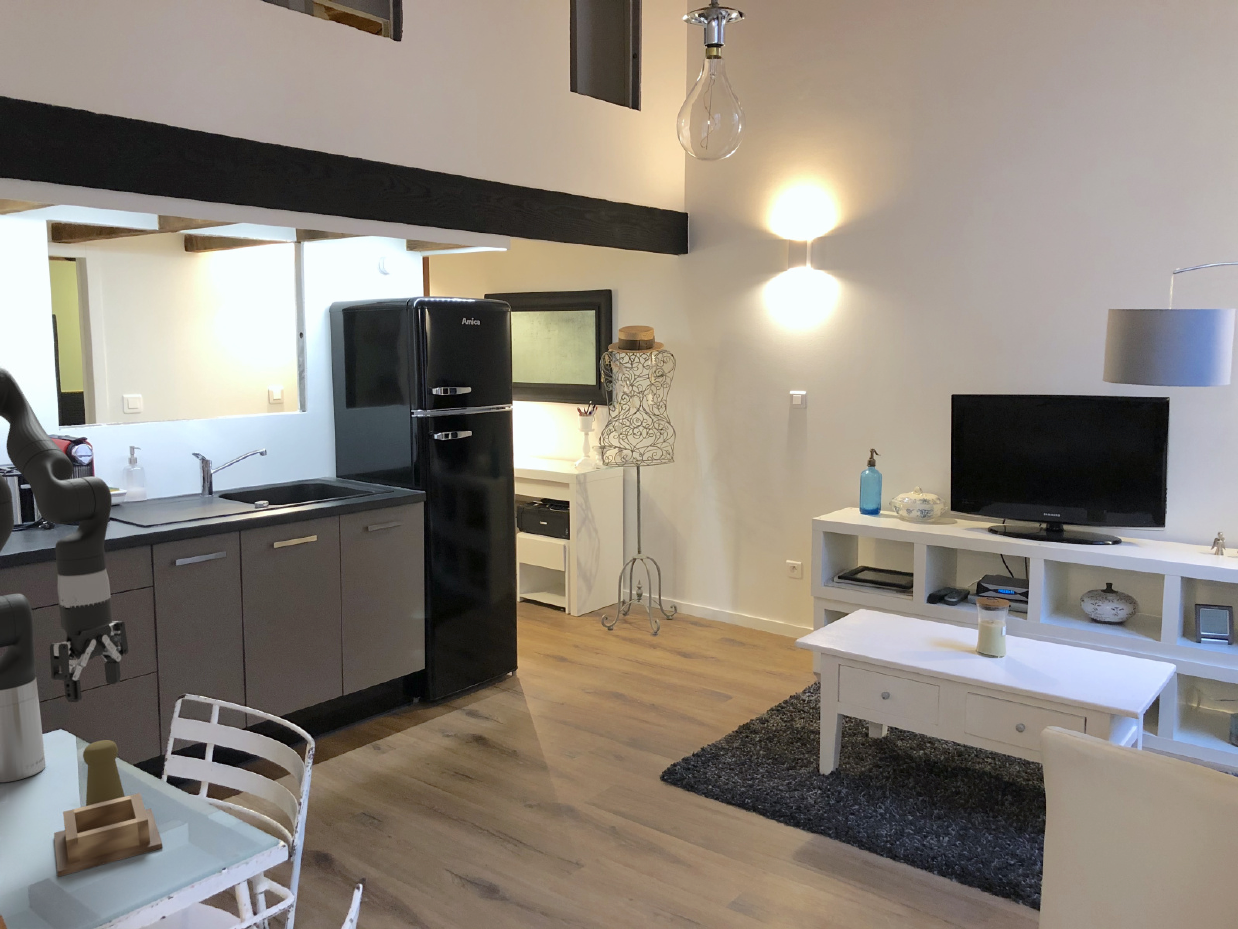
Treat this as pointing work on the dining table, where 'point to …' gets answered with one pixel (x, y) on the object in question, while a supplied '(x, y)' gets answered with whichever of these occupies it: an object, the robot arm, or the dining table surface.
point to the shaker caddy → (105, 834)
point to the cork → (102, 772)
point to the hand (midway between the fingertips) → (94, 692)
